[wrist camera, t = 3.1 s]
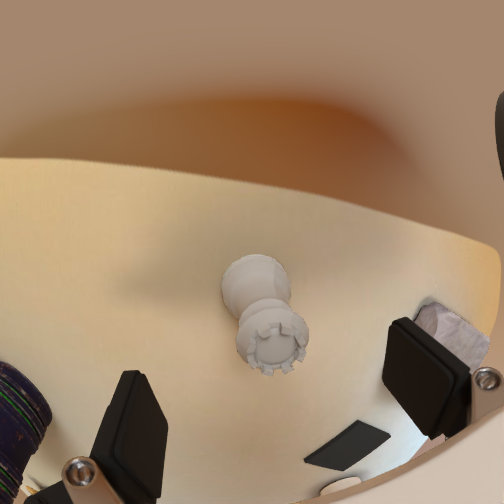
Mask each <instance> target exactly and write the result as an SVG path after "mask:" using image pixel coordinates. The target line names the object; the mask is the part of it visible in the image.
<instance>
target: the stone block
mask: <svg viewBox="0 0 504 504" xmlns="http://www.w3.org/2000/svg"><path fill="white" fill-rule="evenodd" d="M413 322H414V323H415V324H417V325H418V326H419V327H420V328H422V329H423V330H424V331H426V332H427V333H428V334H429V335H431V336H432V337H433V338H434V339H436V340H437V341H438V342H439V343H441V344H442V345H443V346H444V347H446V348H447V349H448V350H449V351H450V352H452V353H453V354H454V355H455V356H457V357H458V358H459V359H460V360H461V361H463V362H464V363H465V364H466V365H467V366H469V367H470V368H471V369H470V372H469V373H471V374H473V373H474V371H476V370H477V369H478V368H479V367H480V365H481V363H482V361H483V359H484V357H485V355H486V354H487V351H488V347H489V344H490V338H489V337H488V336H486V335H485V334H483V333H482V332H480V331H479V330H477V329H476V328H474V327H473V326H472V325H470V324H469V323H467V322H466V321H464V320H463V319H462V318H460V317H458V316H457V315H455V314H454V313H453V312H451V311H450V310H448V309H447V308H445V307H444V306H442V305H441V304H439V303H436V302H433V303H431V304H429V305H424V306H423V307H422V308H421V310H420V313H419V316H418V317H417V319H416V320H415V321H413Z"/></svg>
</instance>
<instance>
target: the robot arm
mask: <svg viewBox="0 0 504 504" xmlns="http://www.w3.org/2000/svg"><path fill="white" fill-rule="evenodd" d="M470 369H471V368H470V367H469V366H467V365H466V364H465V363H464V362H463V361H461V360H460V359H459V358H458V357H457V356H455V355H454V354H453V353H452V352H450V351H449V350H448V349H447V348H446V347H444V346H443V345H442V344H441V343H439V342H438V341H437V340H436V339H434V338H433V337H432V336H431V335H429V334H428V333H427V332H426V331H424V330H423V329H422V328H420V327H419V326H418V325H417V324H415V323H414V322H413V321H412V320H410V319H409V318H407V317H403V318H400V319H397V320H394V321H393V322H392V325H391V326H390V327H389V330H388V339H387V347H386V354H385V361H384V368H383V374H382V380H383V383H384V385H385V386H386V387H387V389H388V390H389V391H390V392H391V394H392V395H393V396H394V397H395V399H396V400H397V401H398V403H399V404H400V405H401V406H402V408H403V409H404V410H405V412H406V413H407V414H408V415H409V417H410V418H411V419H412V421H413V422H414V423H415V425H416V426H417V427H418V428H419V430H420V431H421V432H422V434H423V435H425V436H427V435H428V437H429V438H430V439H431V440H433V439H435V438H436V437H438V436H440V435H441V434H442V433H443V434H444V435H445V442H443V443H441V444H440V445H438V446H436V447H434V448H433V449H431V450H429V451H428V452H426V453H424V454H422V455H420V456H419V457H417V458H415V459H413V460H411V461H409V462H407V463H405V464H403V465H401V466H399V467H397V468H395V469H392V470H390V471H388V472H386V473H383V474H381V475H379V476H376V477H374V478H372V479H369V480H367V481H364V482H362V483H359V484H356V485H353V486H351V487H348V488H345V489H342V490H339V491H336V492H333V493H329V494H326V495H323V496H319V497H315V498H312V499H308V500H304V501H300V502H295V503H291V504H504V378H503V376H502V374H501V373H500V372H499V371H498V370H496V369H494V368H491V367H482V368H479V369H477V370H476V371H474V373H473V374H471V373H469V372H470ZM167 435H168V423H167V420H166V418H165V416H164V414H163V412H162V410H161V408H160V406H159V404H158V402H157V400H156V398H155V395H154V393H153V391H152V389H151V387H150V384H149V382H148V380H147V378H146V376H145V374H141V373H140V371H139V370H130V371H123V373H122V375H121V378H120V380H119V383H118V385H117V388H116V390H115V393H114V395H113V398H112V400H111V403H110V405H109V406H108V407H107V409H106V412H105V414H104V417H103V420H102V422H101V425H100V428H99V431H98V433H97V436H96V439H95V442H94V445H93V448H92V450H91V453H90V456H89V458H88V457H84V456H80V457H75V458H72V459H71V460H69V461H68V462H67V463H66V464H65V465H64V467H63V469H62V474H61V475H62V480H61V481H59V482H58V483H56V484H54V485H51V486H49V487H47V488H45V489H43V490H41V491H39V492H37V493H35V494H32V495H30V496H29V497H27V499H26V500H25V501H24V504H156V500H157V498H160V497H161V490H162V479H163V469H164V460H165V451H166V443H167Z"/></svg>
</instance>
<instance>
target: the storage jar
mask: <svg viewBox="0 0 504 504" xmlns="http://www.w3.org/2000/svg"><path fill="white" fill-rule="evenodd" d="M51 421H52V413H51V410H50V408H49V405H48V404H47V402H46V400H45V399H44V397H43V396H42V394H41V393H40V392H39V391H38V389H37V388H36V387H35V386H34V385H33V384H32V383H31V382H30V381H29V380H28V379H27V378H26V377H25V376H24V375H23V374H22V373H20V372H19V371H18V370H17V369H15V368H14V367H12V366H11V365H9V364H7V363H4V362H1V361H0V504H13V501H14V499H13V498H16V496H17V494H18V492H19V490H18V489H19V487H20V485H22V480H23V476H22V474H23V472H24V469H25V467H26V465H27V463H28V461H29V459H30V457H31V455H33V454H35V452H36V451H37V450H38V446H39V444H41V442H42V440H43V438H44V436H45V432H46V430H47V426H49V424H50V422H51Z"/></svg>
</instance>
